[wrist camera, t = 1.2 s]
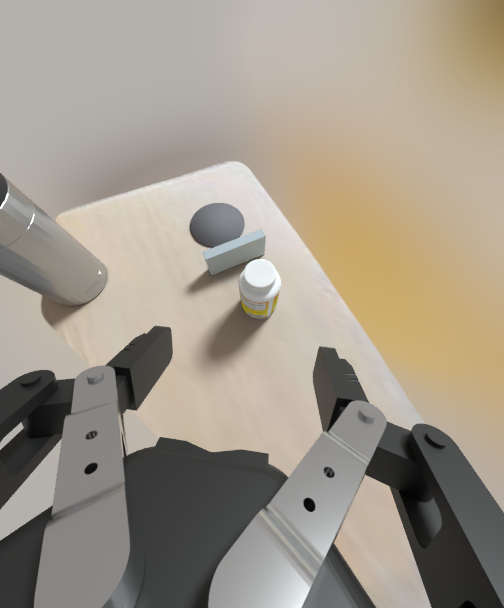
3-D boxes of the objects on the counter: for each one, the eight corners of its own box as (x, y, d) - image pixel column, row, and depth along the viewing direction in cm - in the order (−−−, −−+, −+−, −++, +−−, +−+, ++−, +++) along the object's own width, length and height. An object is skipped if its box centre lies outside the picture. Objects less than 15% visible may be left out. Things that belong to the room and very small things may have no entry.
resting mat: (182, 239, 42) (181, 238, 42) (202, 199, 46) (202, 198, 45) (234, 253, 41) (233, 252, 41) (251, 210, 44) (251, 209, 44)
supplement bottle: (265, 283, 39) (269, 246, 29) (282, 311, 37) (291, 281, 27) (235, 297, 38) (229, 264, 28) (251, 326, 36) (249, 301, 26)
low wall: (211, 275, 39) (205, 259, 35) (208, 268, 40) (202, 252, 35) (264, 254, 41) (265, 236, 36) (260, 247, 41) (261, 229, 37)
